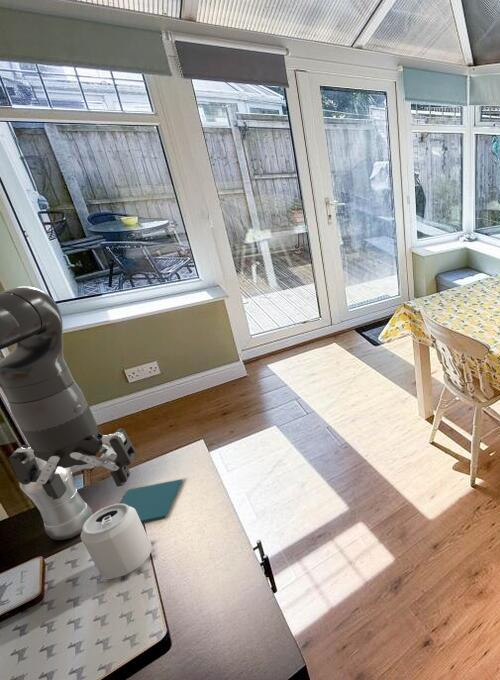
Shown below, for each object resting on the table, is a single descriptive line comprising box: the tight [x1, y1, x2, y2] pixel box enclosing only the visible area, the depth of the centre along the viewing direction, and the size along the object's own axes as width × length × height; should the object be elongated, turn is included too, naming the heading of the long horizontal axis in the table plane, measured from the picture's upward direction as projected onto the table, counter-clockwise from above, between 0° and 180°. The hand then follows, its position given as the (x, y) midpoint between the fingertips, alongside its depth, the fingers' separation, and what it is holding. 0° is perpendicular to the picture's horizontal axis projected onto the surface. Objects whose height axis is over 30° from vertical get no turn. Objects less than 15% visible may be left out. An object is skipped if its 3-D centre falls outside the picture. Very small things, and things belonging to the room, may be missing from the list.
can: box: [79, 503, 153, 580], centre depth 76 cm, size 8×8×12 cm
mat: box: [120, 479, 183, 524], centre depth 89 cm, size 10×10×1 cm
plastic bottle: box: [19, 457, 94, 541], centre depth 79 cm, size 6×7×20 cm
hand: (92, 488), depth 71 cm, fingers open, 8 cm apart
